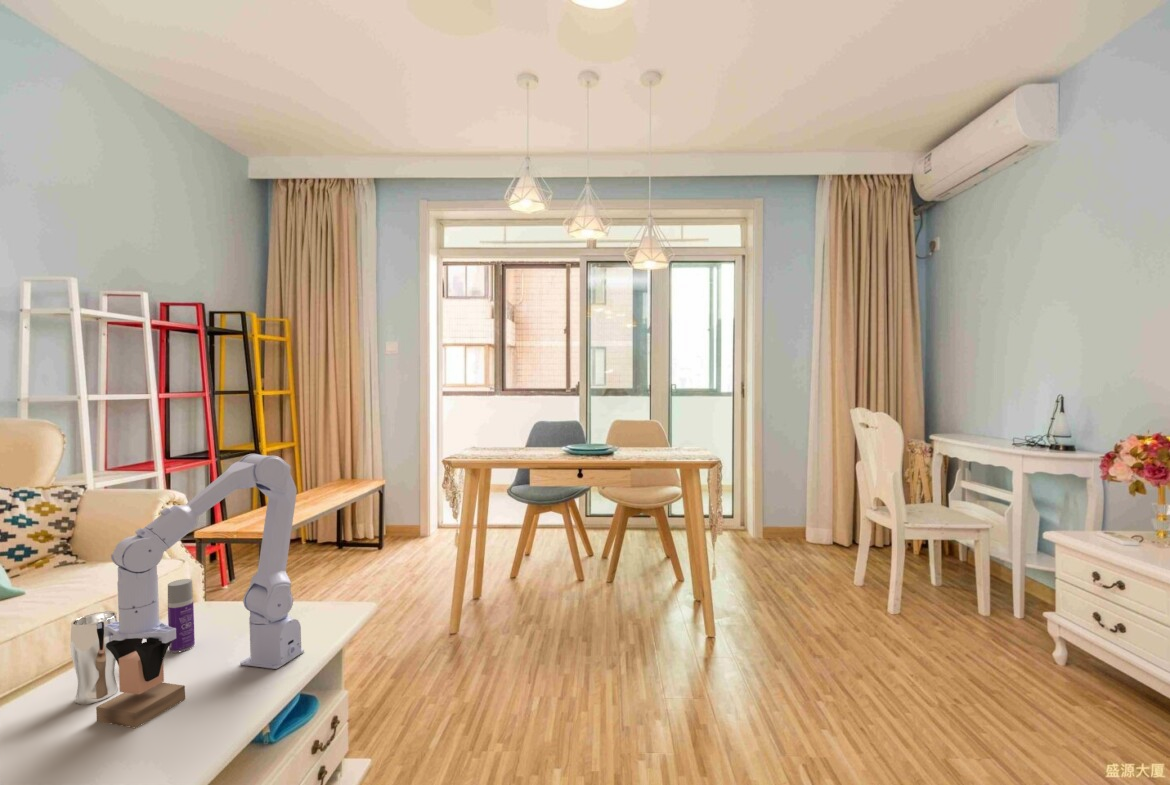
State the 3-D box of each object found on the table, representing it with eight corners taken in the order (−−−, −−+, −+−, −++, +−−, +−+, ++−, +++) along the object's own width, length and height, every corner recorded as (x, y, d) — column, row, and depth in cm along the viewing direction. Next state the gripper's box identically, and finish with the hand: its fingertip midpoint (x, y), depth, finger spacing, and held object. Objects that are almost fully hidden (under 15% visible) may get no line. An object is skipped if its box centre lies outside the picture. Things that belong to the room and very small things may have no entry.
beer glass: (129, 689, 108) (126, 612, 108) (87, 709, 102) (84, 627, 101) (105, 683, 110) (103, 609, 110) (63, 702, 104) (60, 623, 104)
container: (184, 652, 123) (182, 585, 123) (163, 653, 123) (161, 586, 123) (199, 643, 127) (197, 578, 127) (179, 643, 128) (177, 578, 127)
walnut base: (185, 701, 104) (184, 685, 104) (135, 730, 95) (135, 713, 95) (148, 695, 106) (147, 680, 106) (96, 723, 98) (96, 706, 98)
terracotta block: (163, 681, 103) (162, 649, 102) (139, 694, 98) (138, 660, 98) (144, 678, 104) (144, 646, 104) (119, 691, 99) (118, 658, 99)
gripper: (84, 608, 99) (86, 684, 99) (147, 615, 95) (150, 693, 95) (125, 594, 105) (128, 664, 106) (186, 599, 102) (188, 672, 102)
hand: (141, 677), depth 101 cm, fingers closed on terracotta block, 4 cm apart
